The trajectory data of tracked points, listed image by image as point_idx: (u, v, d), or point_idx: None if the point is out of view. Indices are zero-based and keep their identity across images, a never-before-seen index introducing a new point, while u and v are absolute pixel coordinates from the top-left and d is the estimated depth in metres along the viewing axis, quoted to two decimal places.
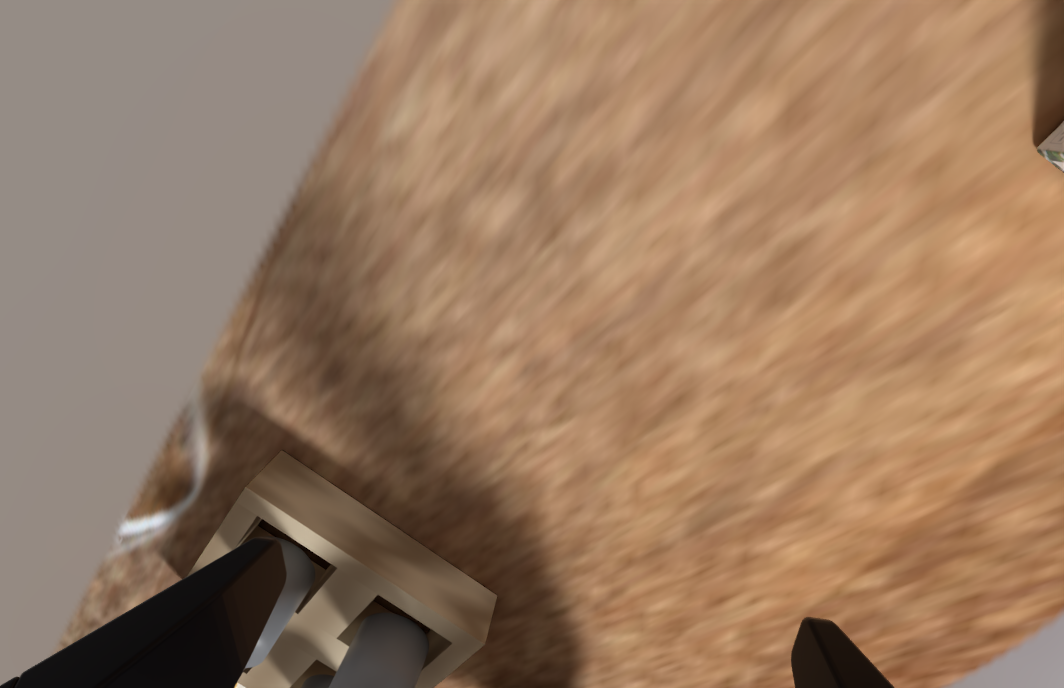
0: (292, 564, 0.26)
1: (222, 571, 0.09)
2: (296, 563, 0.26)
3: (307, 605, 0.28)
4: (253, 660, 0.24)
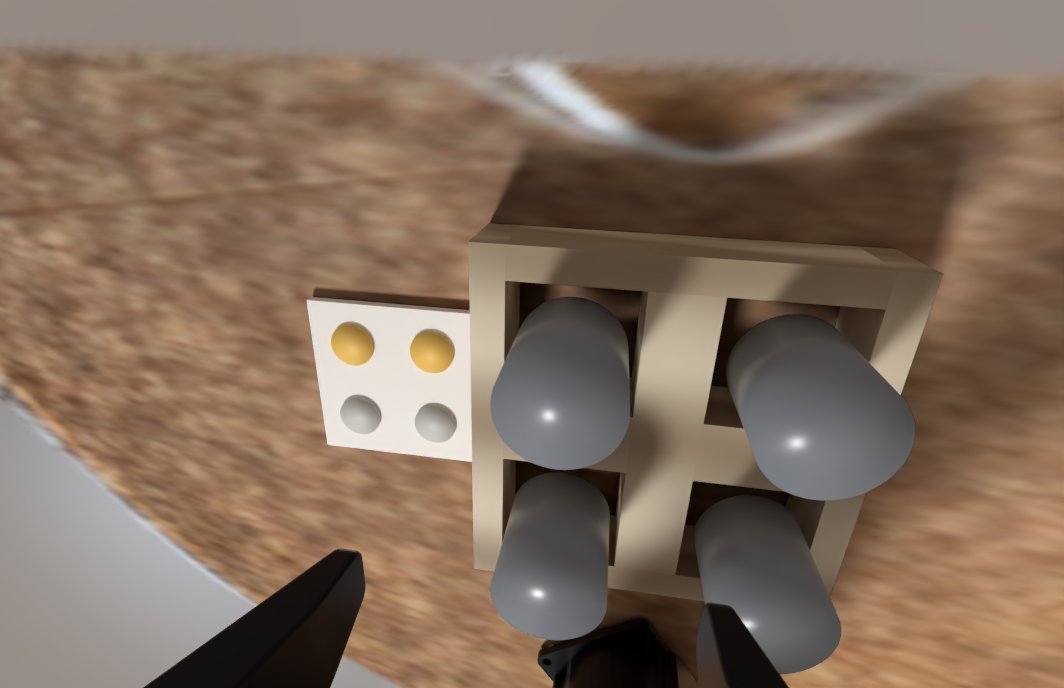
0: None
1: (312, 585, 0.08)
2: None
3: (733, 429, 0.19)
4: (802, 488, 0.15)
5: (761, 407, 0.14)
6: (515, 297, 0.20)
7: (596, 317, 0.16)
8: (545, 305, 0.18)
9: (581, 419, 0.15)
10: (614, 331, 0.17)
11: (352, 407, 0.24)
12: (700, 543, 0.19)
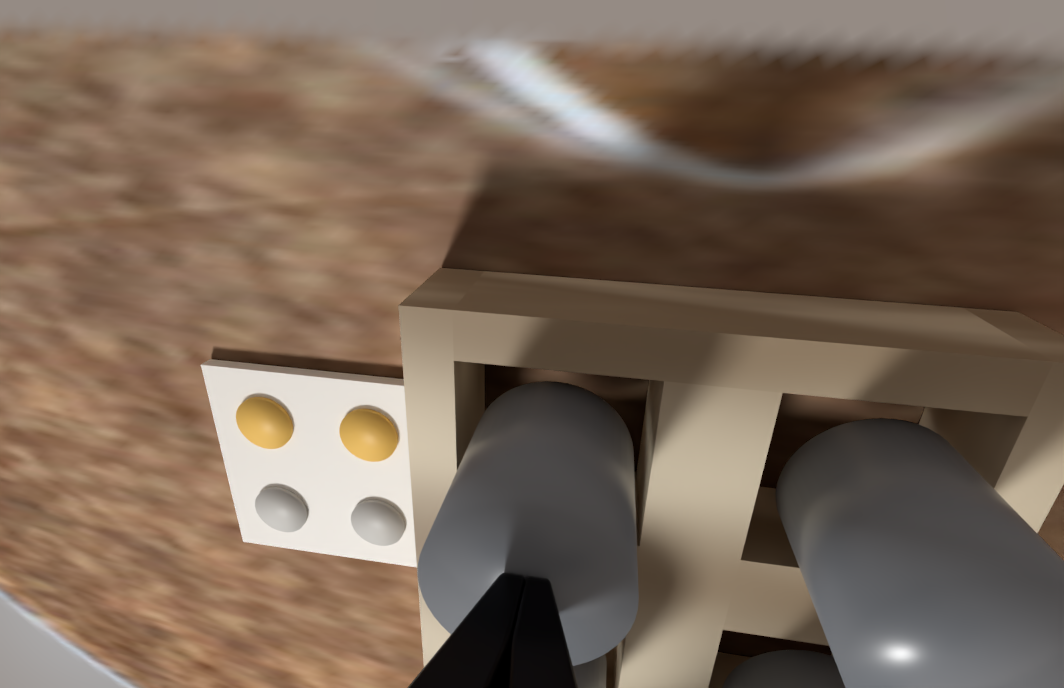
0: None
1: (495, 614, 0.08)
2: None
3: (783, 568, 0.13)
4: None
5: (858, 608, 0.08)
6: (476, 370, 0.14)
7: (587, 421, 0.11)
8: (513, 394, 0.12)
9: (560, 603, 0.09)
10: (613, 442, 0.11)
11: (270, 499, 0.18)
12: None
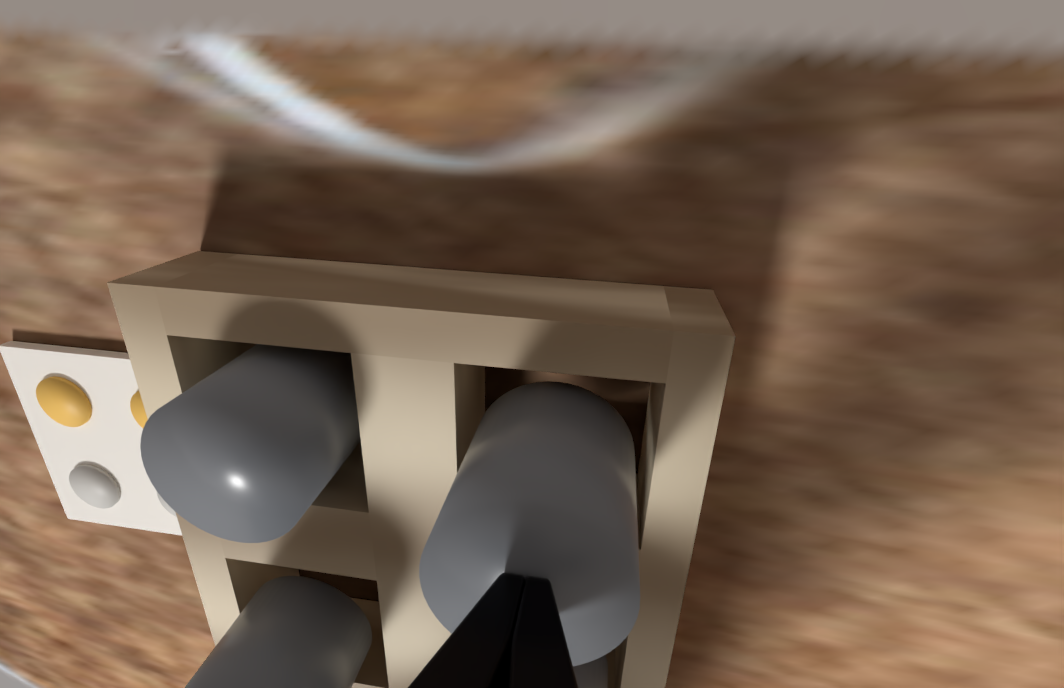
0: None
1: (495, 614, 0.08)
2: None
3: None
4: None
5: (427, 541, 0.09)
6: (233, 348, 0.15)
7: (312, 352, 0.14)
8: None
9: (249, 484, 0.12)
10: (334, 369, 0.14)
11: (82, 476, 0.19)
12: None
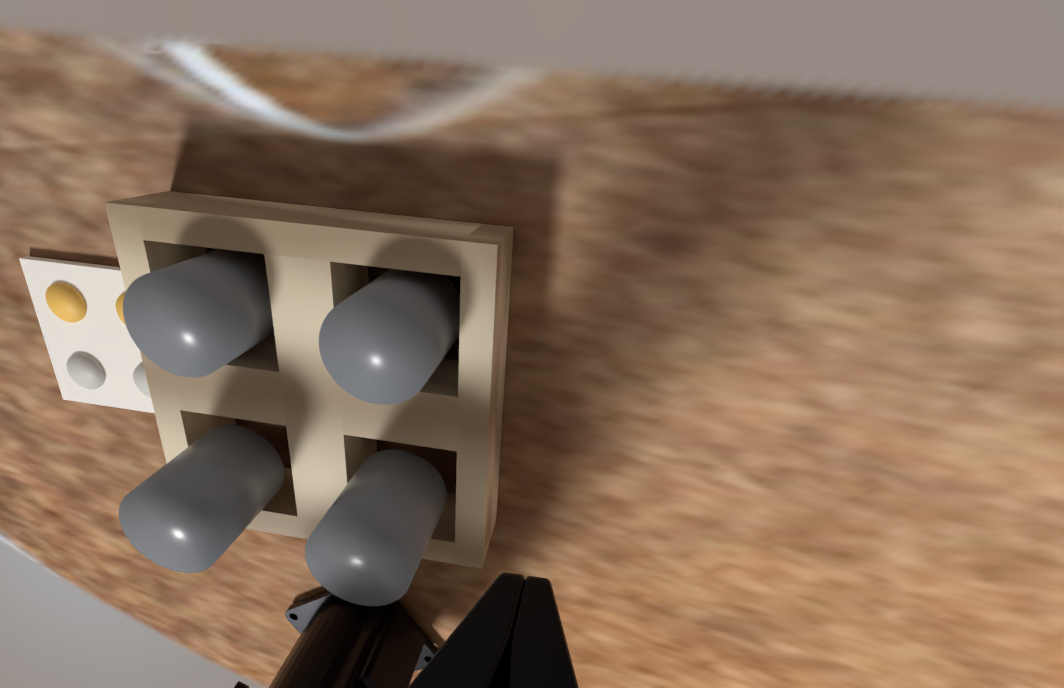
0: (456, 335, 0.20)
1: (495, 614, 0.08)
2: (456, 336, 0.21)
3: None
4: (366, 394, 0.18)
5: (323, 326, 0.18)
6: None
7: (243, 258, 0.20)
8: None
9: (193, 333, 0.18)
10: (257, 270, 0.20)
11: (76, 363, 0.25)
12: None
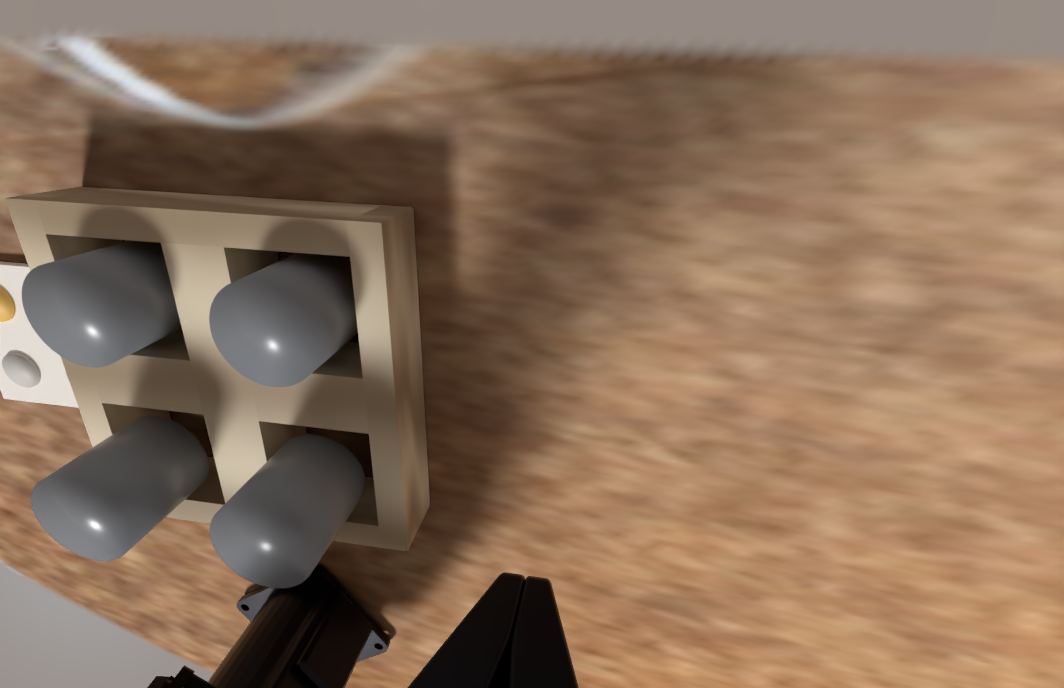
0: None
1: (495, 614, 0.08)
2: None
3: None
4: (261, 377, 0.18)
5: (213, 310, 0.18)
6: None
7: (147, 249, 0.20)
8: None
9: (90, 323, 0.19)
10: (162, 260, 0.20)
11: (11, 362, 0.26)
12: None
